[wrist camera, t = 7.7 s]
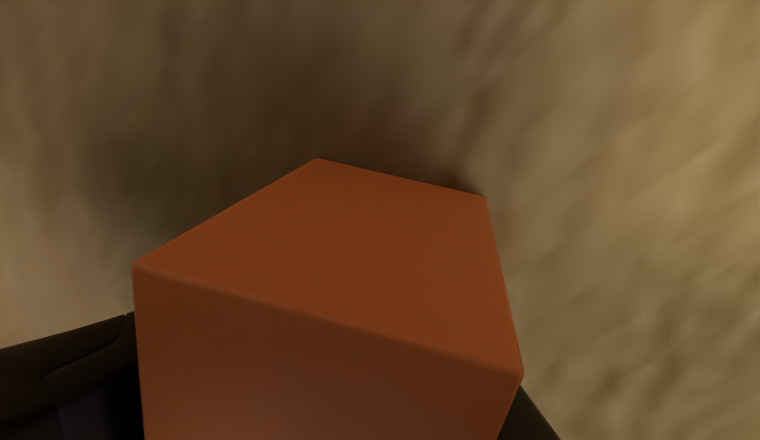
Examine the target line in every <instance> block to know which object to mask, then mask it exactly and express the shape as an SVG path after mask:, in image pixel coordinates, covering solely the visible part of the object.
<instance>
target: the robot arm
mask: <svg viewBox="0 0 760 440" xmlns="http://www.w3.org/2000/svg"><path fill="white" fill-rule="evenodd" d="M0 440H144V431H143V418H142V405H141V392H140V380H139V367H138V354H137V341H136V328H135V315H134V311H133V312H129V313H127V315H126V316H125V315H120V316H117V317H114V318H110V319H107V320H104V321H101V322H97V323H94V324H91V325H87V326H84V327H81V328H77V329H74V330H71V331H67V332H63V333H59V334H56V335H52V336H48V337H44V338H41V339H37V340H33V341H29V342H25V343H21V344H18V345H14V346H10V347H6V348H2V349H0ZM497 440H560V438H559V437H558V436H557V434H556V433H555V431H554V430H553V429H552V427H551V426H550V425H549V423H548V422H547V421H546V419H545V418H544V416H543V415H542V414H541V412H540V411H539V410H538V408H537V407H536V406H535V404H534V403H533V402H532V400H531V399H530V397H529V396H528V395H527V393H526V392H525V391H524V389H523V388H522V387H521V385H519V388H518V390H517V393H516V395H515V397H514V400H513V402H512V404H511V407H510V409H509V411H508V414H507V416H506V418H505V421H504V423H503V425H502V428H501V430H500V432H499V435H498V437H497Z"/></svg>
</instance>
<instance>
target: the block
mask: <svg viewBox="0 0 760 440" xmlns="http://www.w3.org/2000/svg"><path fill="white" fill-rule="evenodd" d="M131 277H132V290H133V303H134V315H135V328H136V341H137V354H138V367H139V380H140V392H141V405H142V418H143V431H144V440H497V437H498V435H499V432H500V430H501V428H502V425H503V423H504V421H505V418H506V416H507V414H508V411H509V409H510V407H511V404H512V402H513V400H514V397H515V395H516V393H517V390H518V388H519V385H520V383H521V381H522V378H523V376H524V368H523V364H522V359H521V355H520V350H519V346H518V341H517V337H516V332H515V328H514V323H513V319H512V314H511V310H510V305H509V301H508V296H507V292H506V287H505V283H504V278H503V274H502V269H501V265H500V260H499V256H498V251H497V247H496V242H495V238H494V233H493V229H492V224H491V220H490V216H489V211H488V207H487V202H486V198H485V197H484V196H480V195H476V194H472V193H467V192H463V191H459V190H454V189H450V188H446V187H441V186H437V185H433V184H428V183H424V182H419V181H415V180H411V179H406V178H402V177H398V176H393V175H389V174H385V173H380V172H376V171H372V170H367V169H363V168H359V167H354V166H350V165H346V164H341V163H337V162H333V161H328V160H324V159H320V158H315V159H313V160H311V161H310V162H308V163H306V164H304V165H303V166H301V167H299V168H297V169H296V170H294V171H292V172H290V173H289V174H287V175H285V176H283V177H282V178H280V179H278V180H276V181H275V182H273V183H271V184H269V185H268V186H266V187H264V188H262V189H261V190H259V191H257V192H255V193H254V194H252V195H250V196H248V197H247V198H245V199H243V200H241V201H240V202H238V203H236V204H234V205H233V206H231V207H229V208H227V209H226V210H224V211H222V212H220V213H219V214H217V215H215V216H213V217H212V218H210V219H208V220H206V221H205V222H203V223H201V224H199V225H198V226H196V227H194V228H192V229H191V230H189V231H187V232H185V233H184V234H182V235H180V236H178V237H177V238H175V239H173V240H171V241H169V242H168V243H166V244H164V245H162V246H161V247H159V248H157V249H155V250H154V251H152V252H150V253H148V254H147V255H145V256H143V257H141V258H140V259H138V260H136V261H135V262H134V263H133V264H132V267H131Z"/></svg>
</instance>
